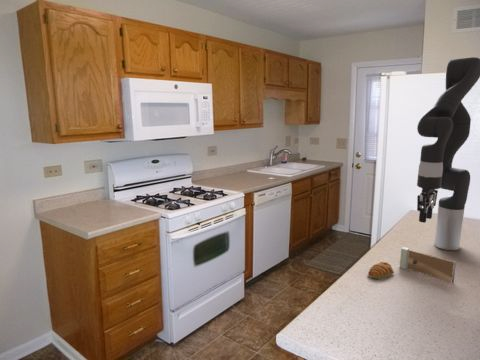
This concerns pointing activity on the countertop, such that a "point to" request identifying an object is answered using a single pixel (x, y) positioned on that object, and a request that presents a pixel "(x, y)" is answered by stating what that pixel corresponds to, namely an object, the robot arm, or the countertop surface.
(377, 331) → the countertop surface
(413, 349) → the countertop surface
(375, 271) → the pastry
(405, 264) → the grey rectangular block
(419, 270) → the door
